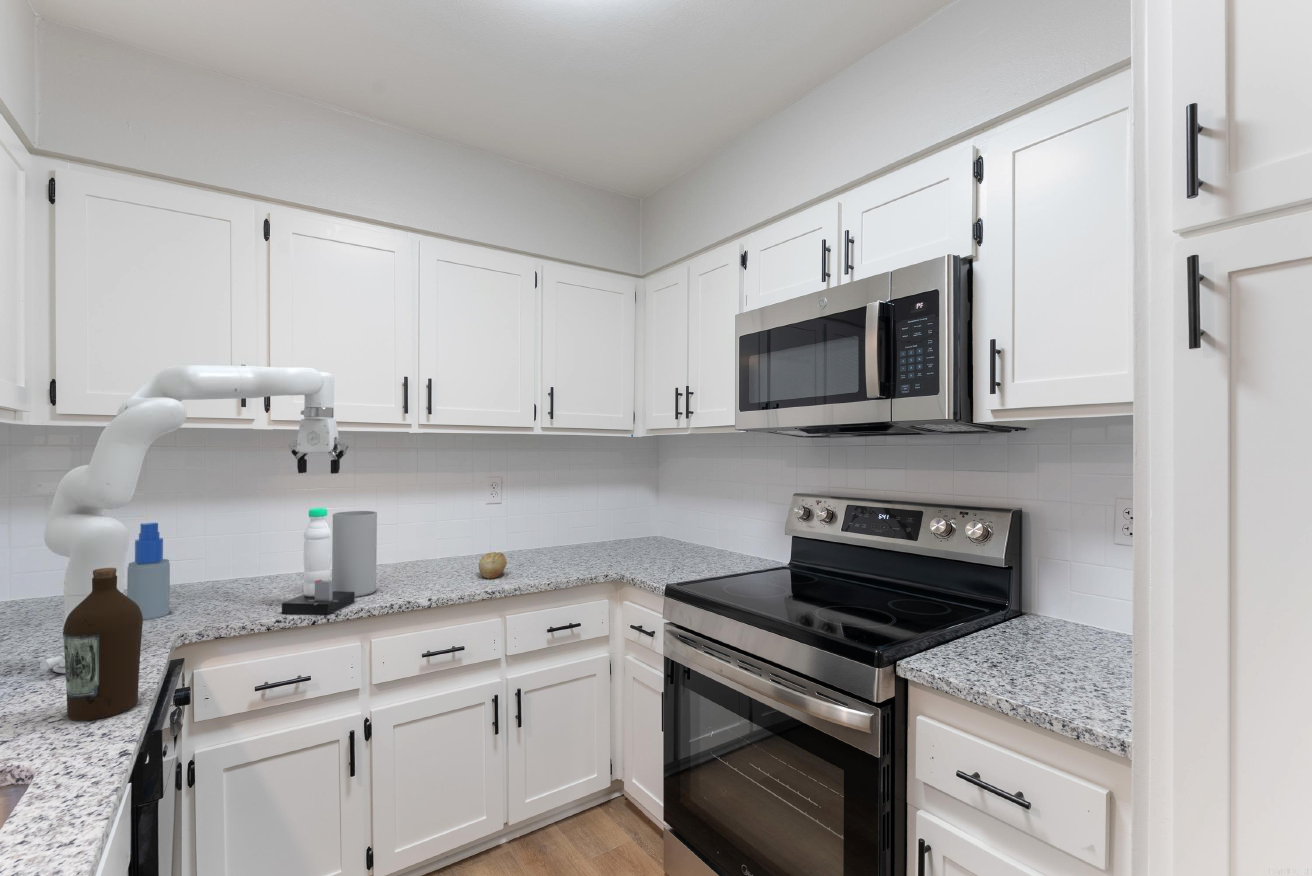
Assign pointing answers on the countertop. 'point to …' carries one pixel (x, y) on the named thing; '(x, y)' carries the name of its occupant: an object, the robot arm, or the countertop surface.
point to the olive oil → (102, 651)
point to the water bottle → (316, 551)
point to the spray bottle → (149, 574)
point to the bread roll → (492, 565)
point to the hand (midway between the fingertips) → (318, 473)
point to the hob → (318, 604)
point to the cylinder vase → (354, 552)
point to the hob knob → (323, 591)
